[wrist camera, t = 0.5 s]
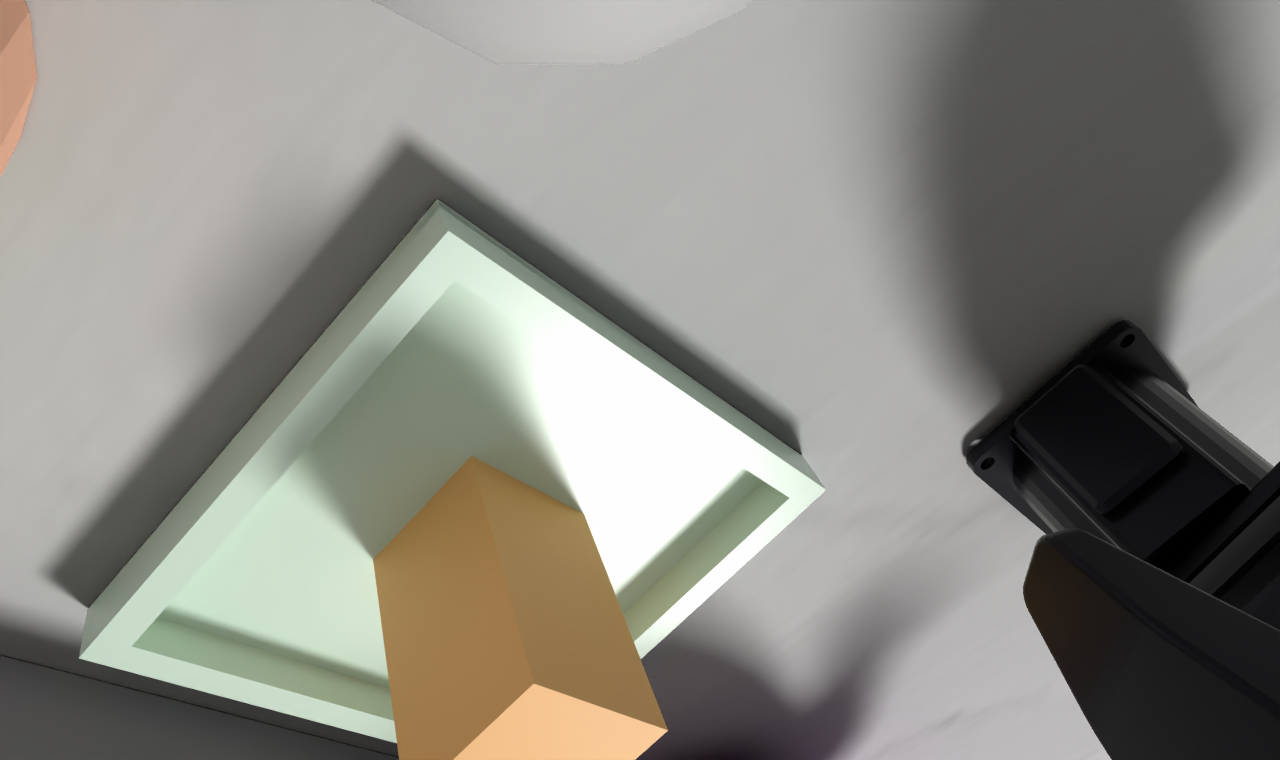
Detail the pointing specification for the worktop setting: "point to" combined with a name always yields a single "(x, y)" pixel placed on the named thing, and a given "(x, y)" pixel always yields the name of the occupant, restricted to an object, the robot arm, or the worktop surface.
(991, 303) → the worktop surface
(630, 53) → the salt shaker
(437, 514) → the orange block
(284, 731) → the strip
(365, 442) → the tray
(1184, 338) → the worktop surface
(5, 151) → the pepper shaker
